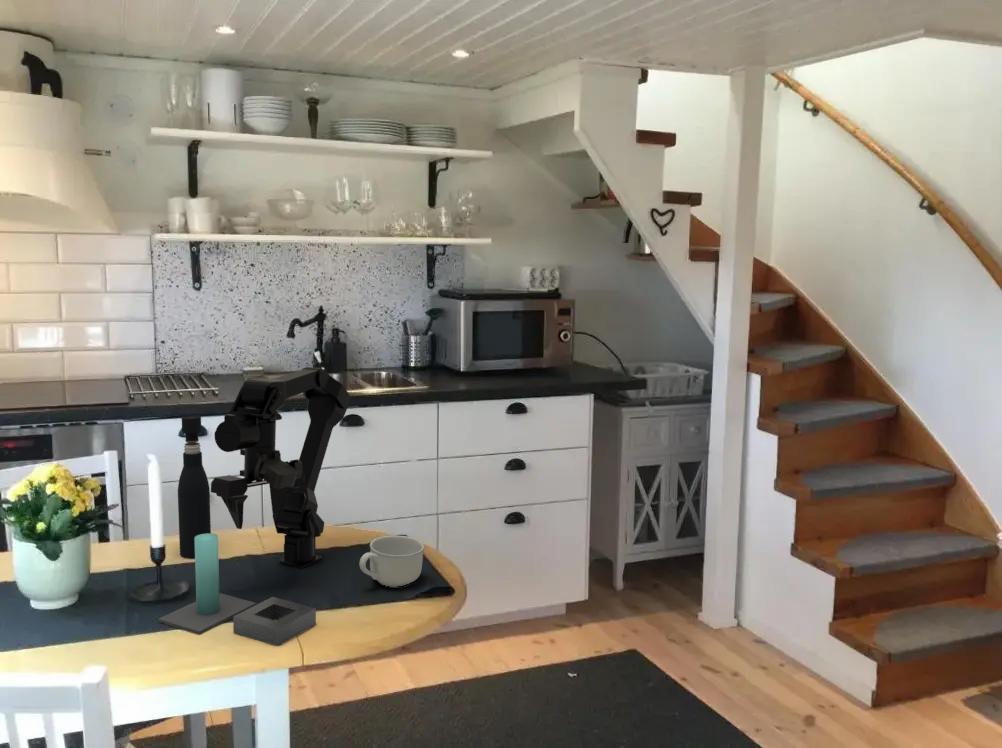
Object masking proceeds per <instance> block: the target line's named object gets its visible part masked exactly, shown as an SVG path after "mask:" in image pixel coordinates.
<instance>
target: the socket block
mask: <svg viewBox="0 0 1002 748" xmlns="http://www.w3.org/2000/svg"><path fill="white" fill-rule="evenodd" d="M232 619H233V621H232V623H233V628H232V629H233V631H232V632H233V634H236V635H239V636H243V637H246V638H249V639H253V640H256V641H259V642H263V643H266V644H269V645H273V646H277V647H279V646H280V645H283V644H284V643H286V642H288V641H289V640H291V639H293V638H295V637H296V636H298V635H300V634H302V633H303V632H305V631H307V630H308V629H310V628H312V627H314V626H316V625H317V608H316V607H312V606H308V605H305V604H301V603H297V602H293V601H289V600H286V599H282V598H278V597H276V596H270V597H269V598H267V599H265V600H263V601H261V602H260V603H258V604H257V603H256V605H255V606H253V607H251V608H249V609H247V610H245V611H243V612H241V613H239V614H237V615H235V616H233V618H232Z"/></svg>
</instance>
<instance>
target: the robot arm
mask: <svg viewBox="0 0 1002 748" xmlns="http://www.w3.org/2000/svg"><path fill="white" fill-rule="evenodd" d="M300 394H302V395H303V396H304V398H305V399H306V400H307V406H306V409H307V413H308V416H309V421H310V422H309V425H308V429H307V432H306V435H305V439H304V442H303V445H302V448H301V452H300V455H299V457H298V459H291V460H290V461H289V460H287V461H283V460H282V456H281V451H280V450H279V449H276V438H277V437H276V434H277V433H276V432H277V431H276V430H277V429H276V428H277V421H280V420H282V418H283V416H282V415H281V413H279V412H278V411H277V410H279V409H280V408H282V407H283V406H284V405H285V404H286V401H287V399H290V398H291V397H294V396H297V395H300ZM350 404H351V395H350V394H349V391H348V390H347V389H346V388H345V386H344V384H343V383H342V382H341V381H338V380H337V379H336V378H334V377H333V376H331V375H330V374H329V372H328V370H326V369H323V368H322V367H311V366H306V367H303V368H301V370H296V371H294V372H291V373H288V374H285V375H284V374H283V375H282V376H279V377H275V378H248V379H246V380H245V381H244V382H243V384H242V386H241V387H240V389H239V392H238V394H237V395H236V397H235V400H234V402H233V404H232V407H231V408H230V411H229V414H227V413H226V414H225V415H224V418H223V419H224V421H222V422H221V423H219V424H218V425H217V427H216V429H215V431H214V436H213V437H214V442H215V444H216V445H217V447H218V448H219V450H221V451H222V452H226V453H231V452H232V453H233V452H236V451H237V452H238V451H239V453H240V454H239V455H240V456H244V464H243V465H244V466H243V467H244V468H243V469H241V470H239V476H240V477H239V476H235V475H230V474H228V475H223V476H218V477H214V478H213V479H212V481H211V482H210V493H213V494H216V496H217V497H220V498H221V499H222V501H223V503H224V505H225V506H226V508H227V510H228V512H229V515H230V517H231V519H232V521H233V523H234V525H235V527H236V529H238V530H242V528H243V525H244V524H243V523H244V503H245V501H246V500H247V498H248V497H249V495H247V494H246V492H247V491H248V488H252V487H257V486H264V485H268V486H269V493H270V503H271V511H272V519H273V523H274V527H275V530H276V533H277V534H278V535H279V534H283V536H284V537H283V538H284V543H283V557H282V558H280V559H279V560H278V563H281V564H283V565H284V564H285V565H289V566H293V567H297V568H300V567H301V569H302V568H303V567H304V568H306V567H308V566H309V565H312V564H314V563H316V562H318V561H320V560H322V556H321V555H317V553H316V550H317V548H316V546H317V545H316V540H317V539H316V538H319V537H321V536H322V534H323V533H324V527H325V521H324V519H322V517H321V516H320V515H319V514H318V513H317V512H318V507H319V503H318V500H317V498H316V494H315V490H316V486H317V484H318V480H319V477H320V474H321V469H322V466H323V462H324V459H325V456H326V452H327V449H328V445H329V442H330V440H331V436H332V432H333V429H334V428H335V427H336V426H337V425H339V423H340V422H341V421H342V420H343V419H344V417H345V415H346V412H347V409H348V407H349V406H350ZM243 477H244V478H243Z"/></svg>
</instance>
